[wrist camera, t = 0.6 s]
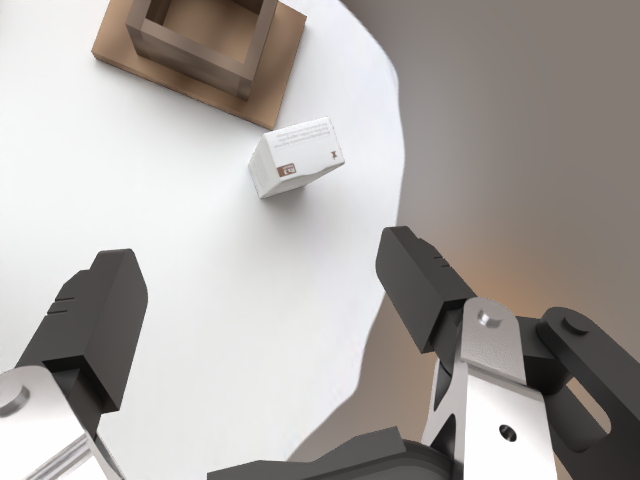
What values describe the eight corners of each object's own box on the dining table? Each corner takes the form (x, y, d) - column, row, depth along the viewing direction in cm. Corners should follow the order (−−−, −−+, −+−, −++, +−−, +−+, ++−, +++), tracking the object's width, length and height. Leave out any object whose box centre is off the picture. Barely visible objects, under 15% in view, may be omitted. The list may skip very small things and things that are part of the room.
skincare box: (294, 151, 37) (331, 109, 25) (306, 187, 37) (349, 162, 26) (244, 165, 35) (260, 127, 23) (258, 203, 35) (281, 184, 24)
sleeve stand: (95, 58, 30) (70, 18, 25) (141, -65, 32) (127, -129, 26) (272, 130, 36) (282, 110, 30) (304, 23, 37) (319, -14, 32)
